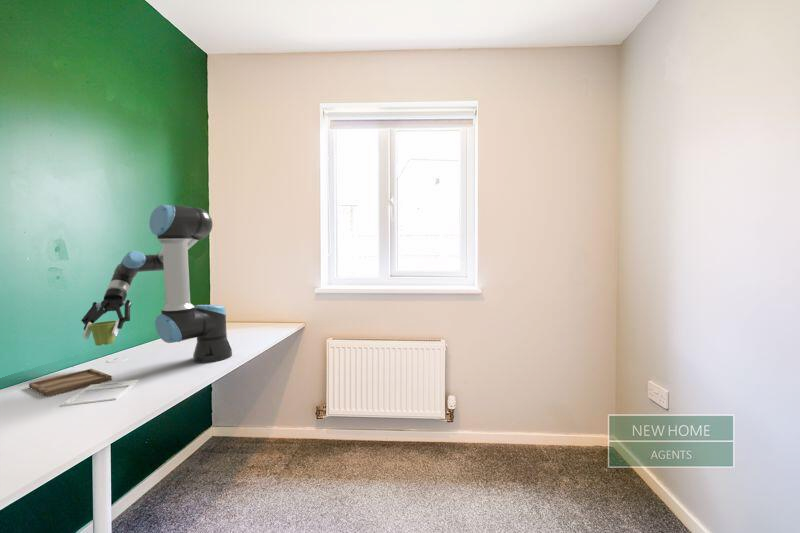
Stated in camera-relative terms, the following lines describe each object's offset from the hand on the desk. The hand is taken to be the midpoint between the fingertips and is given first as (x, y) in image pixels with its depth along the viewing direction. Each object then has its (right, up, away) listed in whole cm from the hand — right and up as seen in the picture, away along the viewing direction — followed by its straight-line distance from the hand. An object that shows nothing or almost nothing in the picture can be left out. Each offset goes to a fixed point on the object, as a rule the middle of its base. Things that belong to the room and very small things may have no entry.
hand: (99, 336), depth 151 cm
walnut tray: (+2, -14, -15) cm, 21 cm away
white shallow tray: (+21, -15, -25) cm, 36 cm away
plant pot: (-1, -4, +3) cm, 5 cm away
